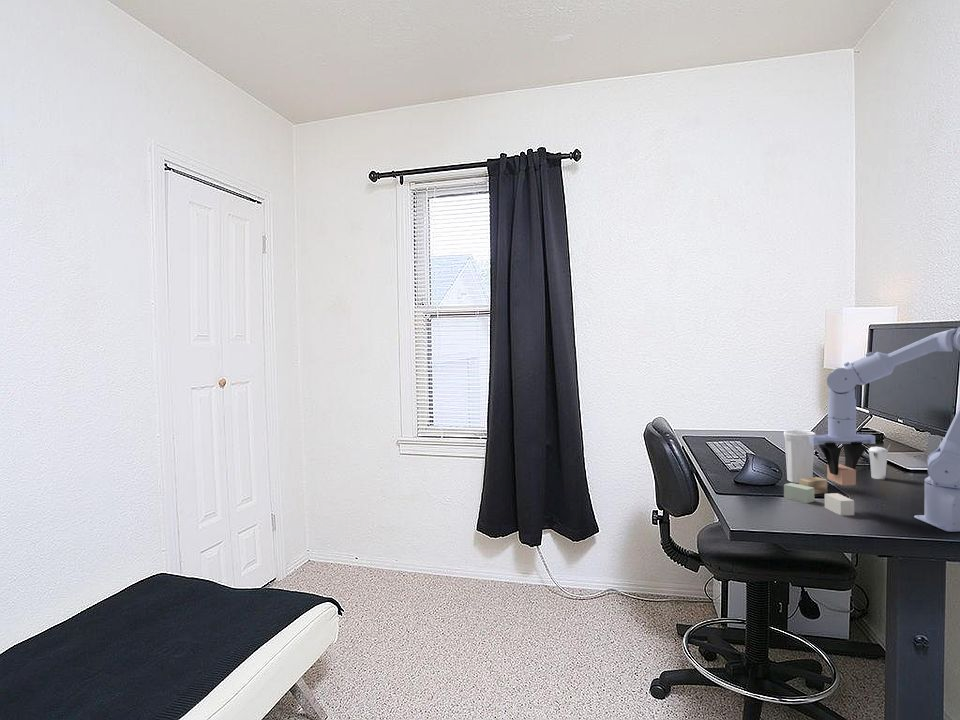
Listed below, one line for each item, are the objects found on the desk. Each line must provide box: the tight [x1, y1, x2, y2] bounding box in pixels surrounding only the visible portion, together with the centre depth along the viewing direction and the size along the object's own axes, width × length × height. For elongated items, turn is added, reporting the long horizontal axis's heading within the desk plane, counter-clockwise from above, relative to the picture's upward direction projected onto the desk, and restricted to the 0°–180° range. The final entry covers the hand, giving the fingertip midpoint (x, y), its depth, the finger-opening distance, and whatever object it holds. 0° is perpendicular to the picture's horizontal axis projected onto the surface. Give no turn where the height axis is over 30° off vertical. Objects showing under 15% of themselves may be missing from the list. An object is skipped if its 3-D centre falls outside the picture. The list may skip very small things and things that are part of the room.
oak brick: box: [798, 476, 828, 495], centre depth 149 cm, size 6×3×4 cm, turn 103°
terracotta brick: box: [826, 463, 857, 486], centre depth 135 cm, size 6×3×4 cm, turn 178°
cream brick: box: [824, 492, 855, 516], centre depth 133 cm, size 6×3×4 cm, turn 0°
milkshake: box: [868, 443, 891, 480], centre depth 161 cm, size 4×5×10 cm
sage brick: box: [783, 482, 815, 504], centre depth 143 cm, size 6×3×4 cm, turn 30°
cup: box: [783, 429, 817, 484], centre depth 159 cm, size 8×8×14 cm
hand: (841, 473), depth 135 cm, fingers closed on terracotta brick, 3 cm apart
